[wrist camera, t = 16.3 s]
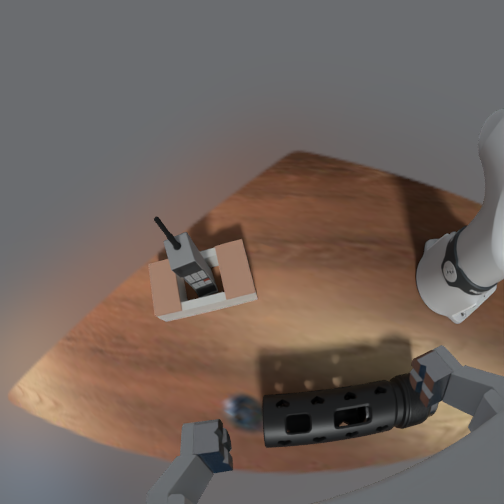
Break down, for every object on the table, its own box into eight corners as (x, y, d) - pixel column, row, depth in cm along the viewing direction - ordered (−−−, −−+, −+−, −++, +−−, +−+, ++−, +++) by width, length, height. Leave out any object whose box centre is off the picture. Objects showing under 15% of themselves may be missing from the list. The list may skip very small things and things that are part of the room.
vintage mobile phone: (200, 299, 55) (146, 245, 32) (193, 276, 57) (139, 211, 34) (219, 292, 56) (176, 233, 33) (210, 269, 58) (166, 199, 35)
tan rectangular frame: (245, 251, 58) (241, 238, 53) (257, 299, 54) (255, 291, 49) (159, 273, 58) (148, 264, 53) (166, 321, 54) (155, 316, 49)
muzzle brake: (265, 391, 48) (261, 395, 38) (413, 369, 46) (439, 367, 37) (267, 440, 44) (264, 456, 35) (416, 416, 42) (441, 423, 33)
